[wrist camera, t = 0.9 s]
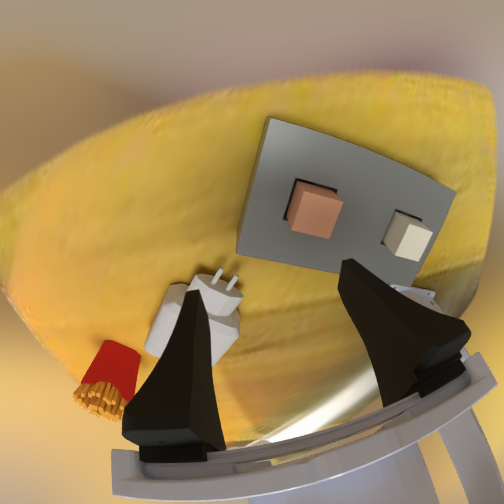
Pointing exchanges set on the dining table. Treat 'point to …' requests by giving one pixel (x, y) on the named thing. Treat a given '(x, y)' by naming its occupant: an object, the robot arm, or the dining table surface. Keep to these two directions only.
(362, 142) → the dining table surface
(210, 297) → the charger
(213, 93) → the dining table surface
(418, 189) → the key box
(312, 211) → the terracotta key
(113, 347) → the french fries
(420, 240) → the offwhite key
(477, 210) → the dining table surface
